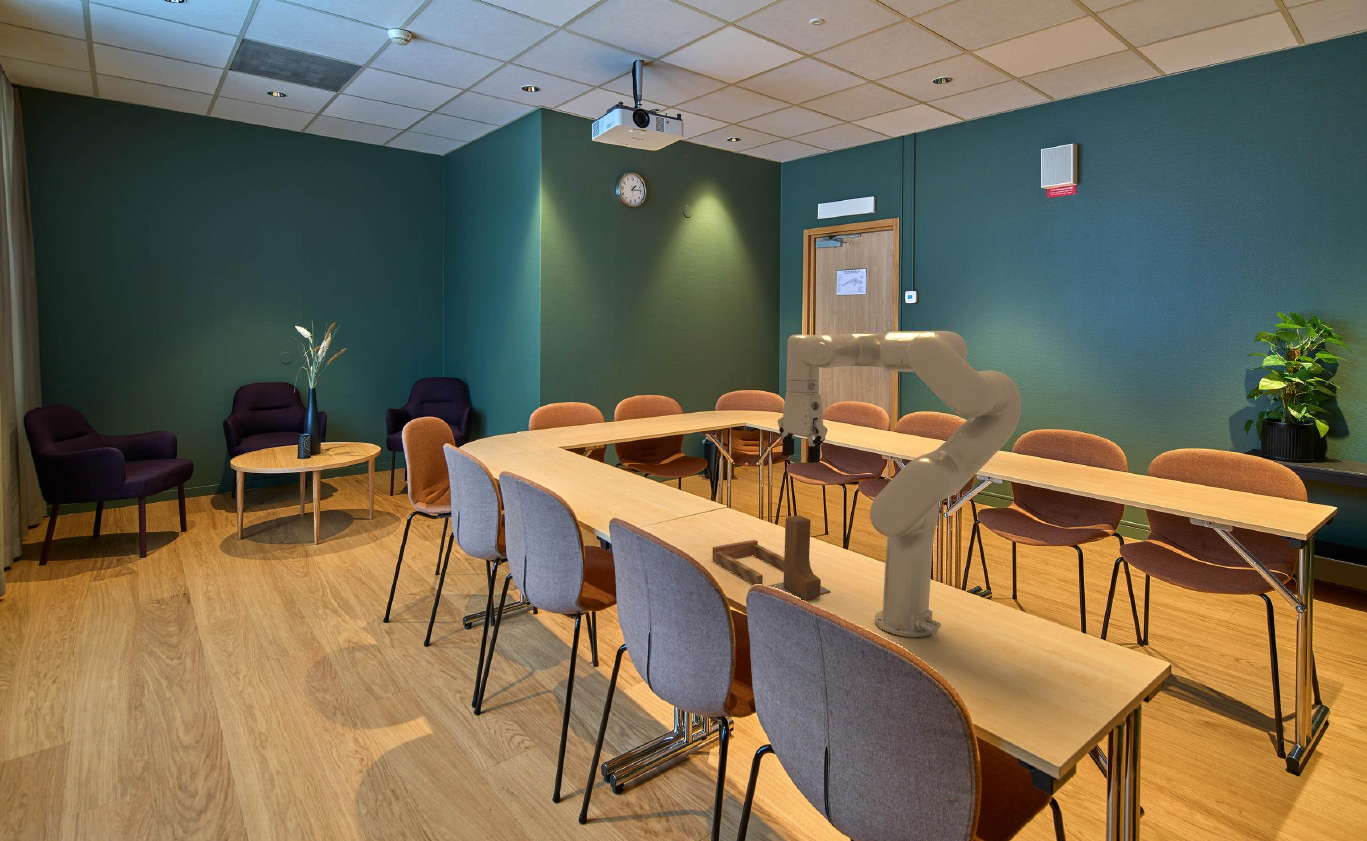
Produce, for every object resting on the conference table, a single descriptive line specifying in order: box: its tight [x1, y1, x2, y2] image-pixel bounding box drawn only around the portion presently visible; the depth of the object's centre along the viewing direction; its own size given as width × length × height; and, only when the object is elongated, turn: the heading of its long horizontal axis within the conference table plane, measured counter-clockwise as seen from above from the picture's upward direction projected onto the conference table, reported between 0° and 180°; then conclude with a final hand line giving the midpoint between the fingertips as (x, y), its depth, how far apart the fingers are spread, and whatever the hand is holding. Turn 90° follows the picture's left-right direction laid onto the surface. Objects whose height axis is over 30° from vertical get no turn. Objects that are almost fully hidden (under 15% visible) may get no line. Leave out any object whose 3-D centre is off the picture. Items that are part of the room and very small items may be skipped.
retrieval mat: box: [767, 581, 831, 600], centre depth 173 cm, size 10×14×1 cm
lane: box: [711, 539, 784, 586], centre depth 188 cm, size 22×14×4 cm, turn 29°
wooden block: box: [783, 514, 822, 600], centre depth 170 cm, size 9×4×18 cm, turn 29°
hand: (800, 458), depth 168 cm, fingers open, 9 cm apart
